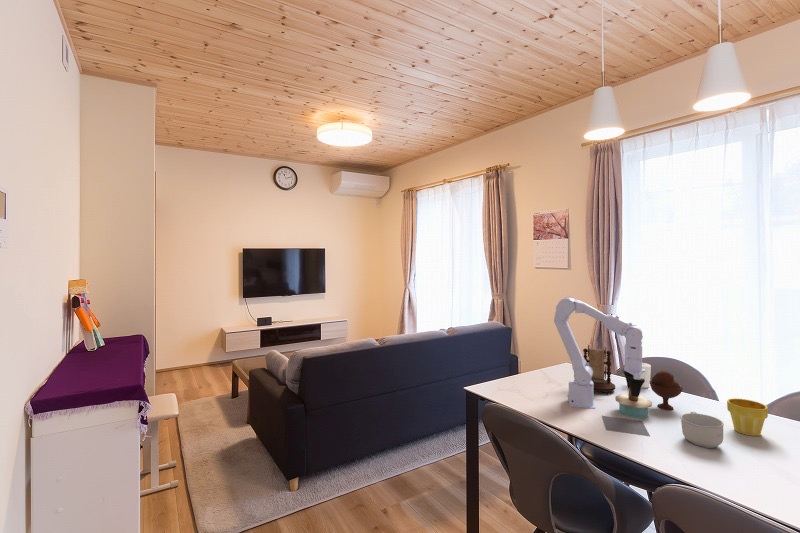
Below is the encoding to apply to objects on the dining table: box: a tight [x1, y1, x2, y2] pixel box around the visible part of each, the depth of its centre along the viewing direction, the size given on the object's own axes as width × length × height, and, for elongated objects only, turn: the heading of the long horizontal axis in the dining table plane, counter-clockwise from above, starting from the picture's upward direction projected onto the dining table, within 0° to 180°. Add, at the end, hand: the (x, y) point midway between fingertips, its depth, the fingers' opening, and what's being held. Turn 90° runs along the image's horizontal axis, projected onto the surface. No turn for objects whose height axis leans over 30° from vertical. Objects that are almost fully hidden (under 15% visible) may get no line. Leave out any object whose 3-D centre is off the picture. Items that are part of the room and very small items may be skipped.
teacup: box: [680, 411, 725, 449], centre depth 124 cm, size 14×11×8 cm
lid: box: [614, 387, 653, 409], centre depth 147 cm, size 12×12×5 cm
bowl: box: [618, 403, 649, 419], centre depth 147 cm, size 9×9×4 cm
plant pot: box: [726, 398, 769, 437], centre depth 131 cm, size 10×10×10 cm
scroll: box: [582, 344, 616, 395], centre depth 175 cm, size 15×15×20 cm
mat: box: [601, 415, 651, 437], centre depth 136 cm, size 13×13×1 cm
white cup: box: [640, 362, 652, 389], centre depth 179 cm, size 8×8×10 cm
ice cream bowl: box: [649, 370, 684, 412], centre depth 152 cm, size 11×11×15 cm
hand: (633, 392), depth 147 cm, fingers open, 7 cm apart
